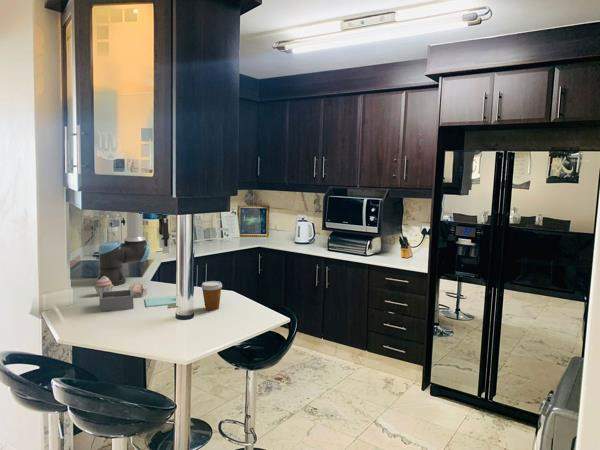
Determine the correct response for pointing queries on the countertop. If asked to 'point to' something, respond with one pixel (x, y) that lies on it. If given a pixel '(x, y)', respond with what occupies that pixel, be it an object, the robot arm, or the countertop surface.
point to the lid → (161, 301)
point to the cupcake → (103, 285)
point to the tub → (116, 300)
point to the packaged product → (138, 290)
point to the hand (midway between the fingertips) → (164, 250)
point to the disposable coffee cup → (211, 294)
